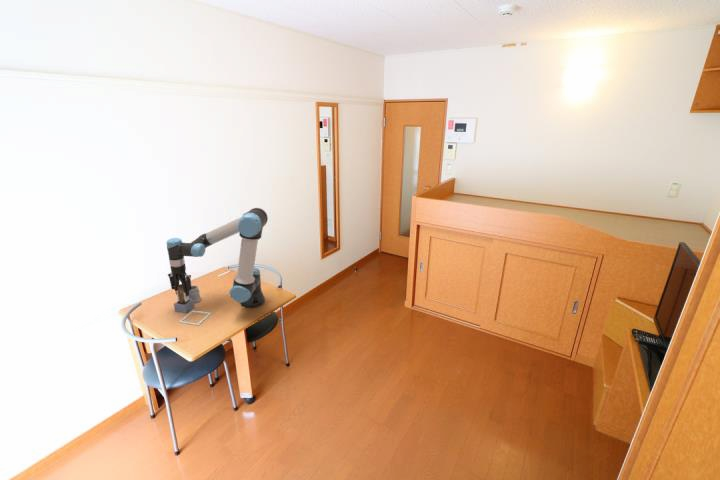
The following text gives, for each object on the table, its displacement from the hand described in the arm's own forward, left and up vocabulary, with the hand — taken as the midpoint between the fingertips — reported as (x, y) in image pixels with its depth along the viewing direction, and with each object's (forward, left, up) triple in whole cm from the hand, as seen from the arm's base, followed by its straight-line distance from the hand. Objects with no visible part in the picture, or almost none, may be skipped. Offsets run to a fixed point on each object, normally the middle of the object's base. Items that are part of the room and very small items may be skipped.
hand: (183, 299), depth 198 cm
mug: (+3, -10, -7) cm, 13 cm away
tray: (-12, +7, -7) cm, 16 cm away
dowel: (0, 0, -6) cm, 6 cm away
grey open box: (0, 0, -7) cm, 7 cm away
